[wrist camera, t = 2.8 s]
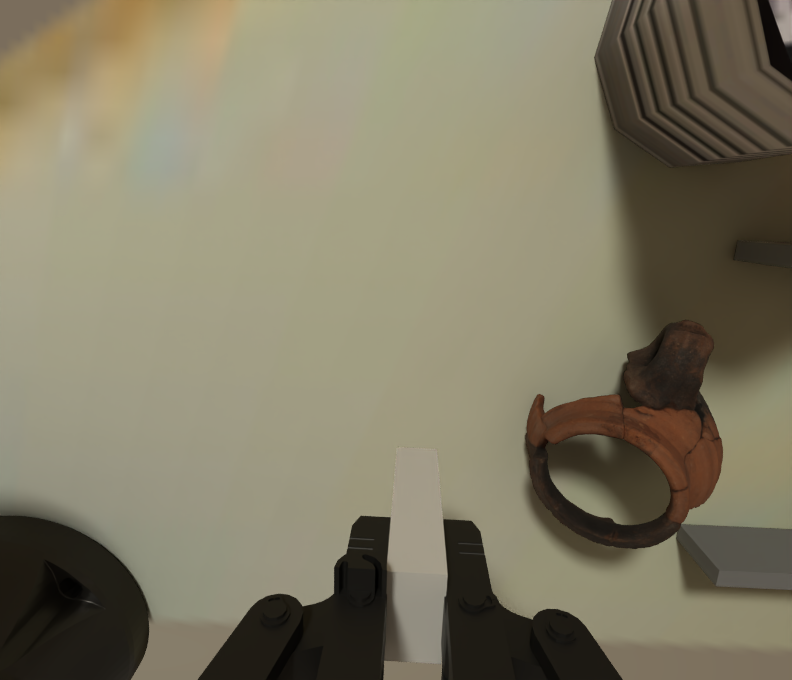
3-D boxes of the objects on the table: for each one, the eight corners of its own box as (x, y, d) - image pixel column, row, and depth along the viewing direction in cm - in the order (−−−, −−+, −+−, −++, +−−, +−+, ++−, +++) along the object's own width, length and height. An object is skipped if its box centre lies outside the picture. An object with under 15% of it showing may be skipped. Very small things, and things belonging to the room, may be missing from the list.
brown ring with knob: (684, 490, 30) (675, 597, 24) (533, 429, 34) (491, 507, 27) (778, 315, 24) (802, 395, 18) (583, 265, 28) (545, 315, 21)
